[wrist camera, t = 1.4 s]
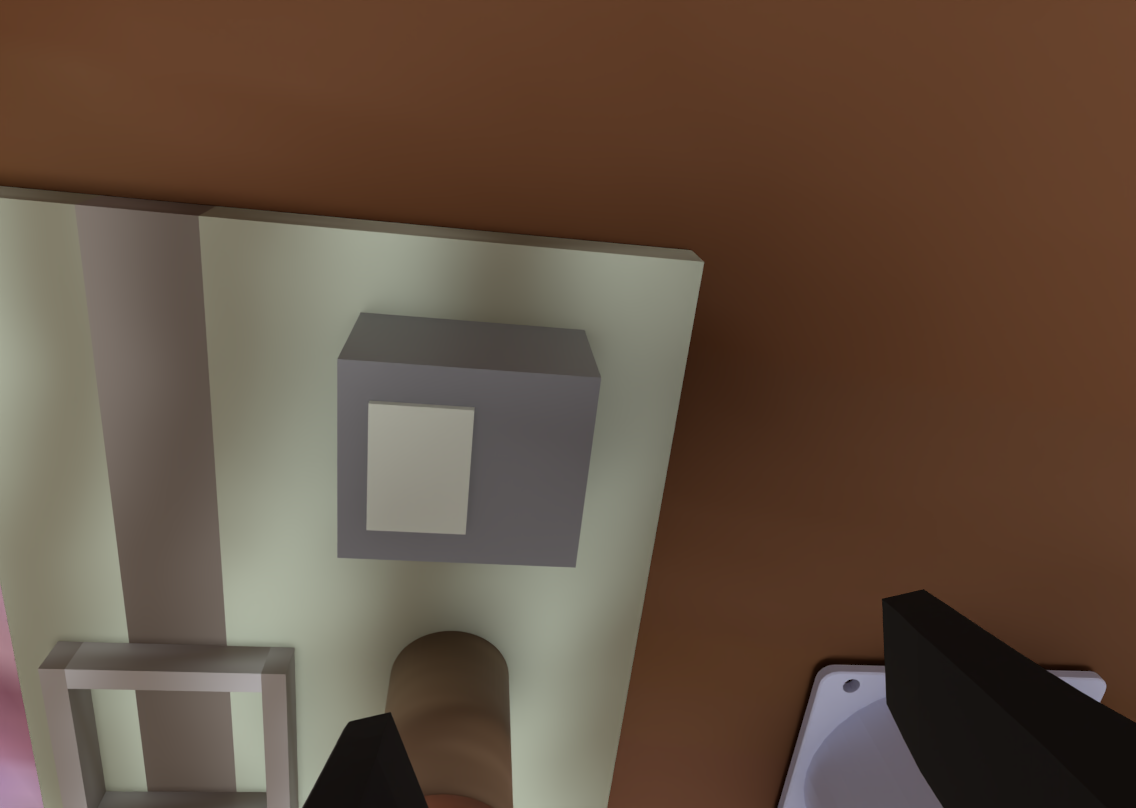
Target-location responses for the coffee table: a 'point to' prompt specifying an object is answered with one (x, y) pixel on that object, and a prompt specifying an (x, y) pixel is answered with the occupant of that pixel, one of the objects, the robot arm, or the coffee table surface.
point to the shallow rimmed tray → (290, 494)
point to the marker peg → (455, 719)
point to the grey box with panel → (463, 441)
